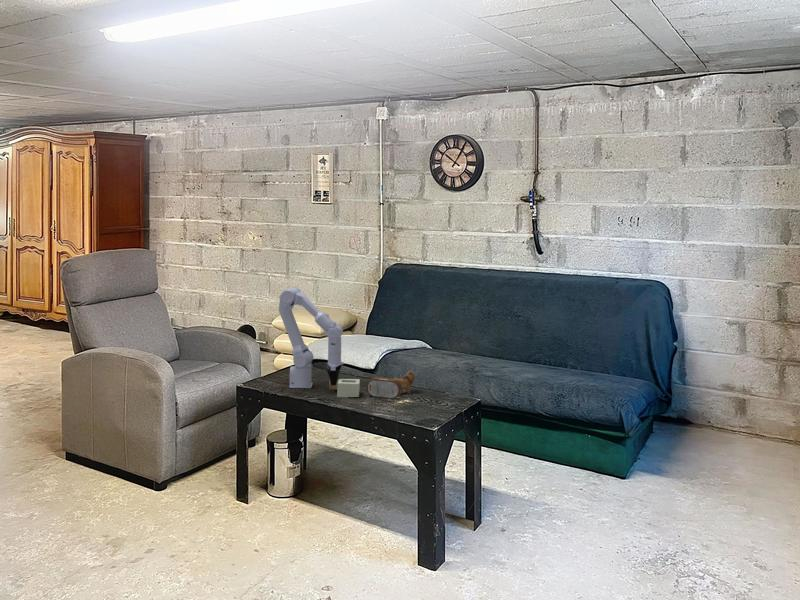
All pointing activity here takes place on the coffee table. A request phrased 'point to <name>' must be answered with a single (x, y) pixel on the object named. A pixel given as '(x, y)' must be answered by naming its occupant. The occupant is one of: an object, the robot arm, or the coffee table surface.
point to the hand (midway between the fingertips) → (334, 382)
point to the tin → (384, 388)
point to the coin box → (348, 388)
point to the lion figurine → (407, 381)
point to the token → (333, 385)
